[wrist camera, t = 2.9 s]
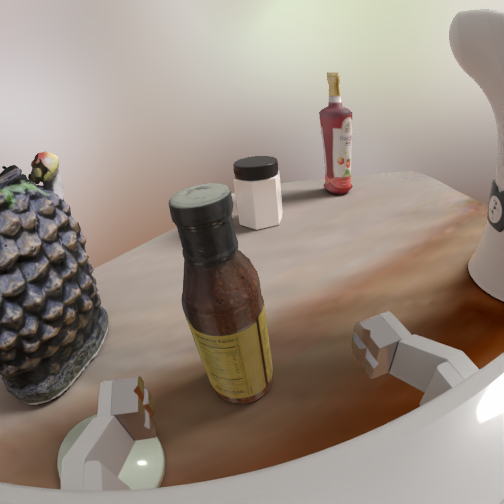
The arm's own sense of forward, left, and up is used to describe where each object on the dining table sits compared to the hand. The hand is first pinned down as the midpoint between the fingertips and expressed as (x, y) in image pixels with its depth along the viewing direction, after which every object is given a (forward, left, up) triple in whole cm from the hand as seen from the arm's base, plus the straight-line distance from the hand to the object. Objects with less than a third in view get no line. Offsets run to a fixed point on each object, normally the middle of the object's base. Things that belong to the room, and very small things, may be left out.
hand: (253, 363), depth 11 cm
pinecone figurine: (+29, -10, -17) cm, 35 cm away
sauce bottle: (+5, -11, -17) cm, 21 cm away
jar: (+9, -49, -17) cm, 53 cm away
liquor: (-7, -65, -17) cm, 68 cm away
